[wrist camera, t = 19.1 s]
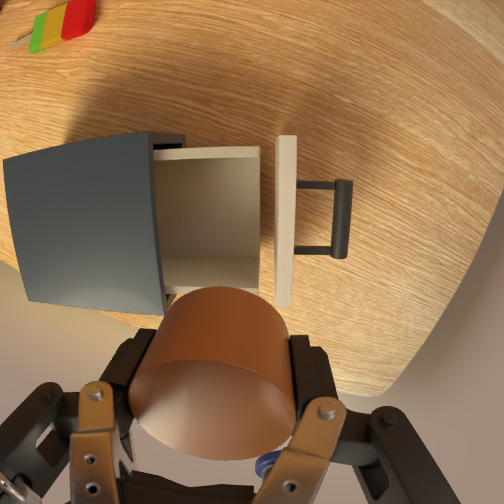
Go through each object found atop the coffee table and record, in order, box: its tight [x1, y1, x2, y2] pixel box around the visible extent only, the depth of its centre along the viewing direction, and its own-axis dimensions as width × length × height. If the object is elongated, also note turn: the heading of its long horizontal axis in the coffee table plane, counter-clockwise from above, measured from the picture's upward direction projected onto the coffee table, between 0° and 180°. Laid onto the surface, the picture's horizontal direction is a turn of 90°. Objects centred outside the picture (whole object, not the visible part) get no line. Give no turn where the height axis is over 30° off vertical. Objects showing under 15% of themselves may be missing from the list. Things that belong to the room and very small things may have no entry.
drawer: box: [153, 135, 353, 307], centre depth 25 cm, size 20×13×8 cm
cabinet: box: [3, 131, 185, 316], centre depth 26 cm, size 16×14×10 cm
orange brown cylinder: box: [128, 286, 297, 461], centre depth 11 cm, size 6×6×4 cm
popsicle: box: [7, 0, 96, 53], centre depth 22 cm, size 6×15×2 cm, turn 89°
